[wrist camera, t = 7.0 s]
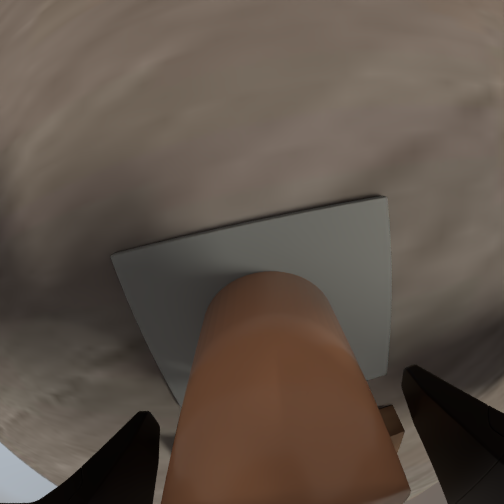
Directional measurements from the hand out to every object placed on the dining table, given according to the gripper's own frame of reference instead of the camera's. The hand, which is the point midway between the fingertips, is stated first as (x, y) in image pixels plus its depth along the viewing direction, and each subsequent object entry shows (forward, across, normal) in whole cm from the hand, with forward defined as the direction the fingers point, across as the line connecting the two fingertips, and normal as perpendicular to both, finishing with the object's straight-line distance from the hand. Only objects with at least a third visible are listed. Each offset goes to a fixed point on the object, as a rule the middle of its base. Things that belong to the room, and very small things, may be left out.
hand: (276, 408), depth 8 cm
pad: (+5, 0, 0) cm, 5 cm away
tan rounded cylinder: (+5, 0, 0) cm, 5 cm away
